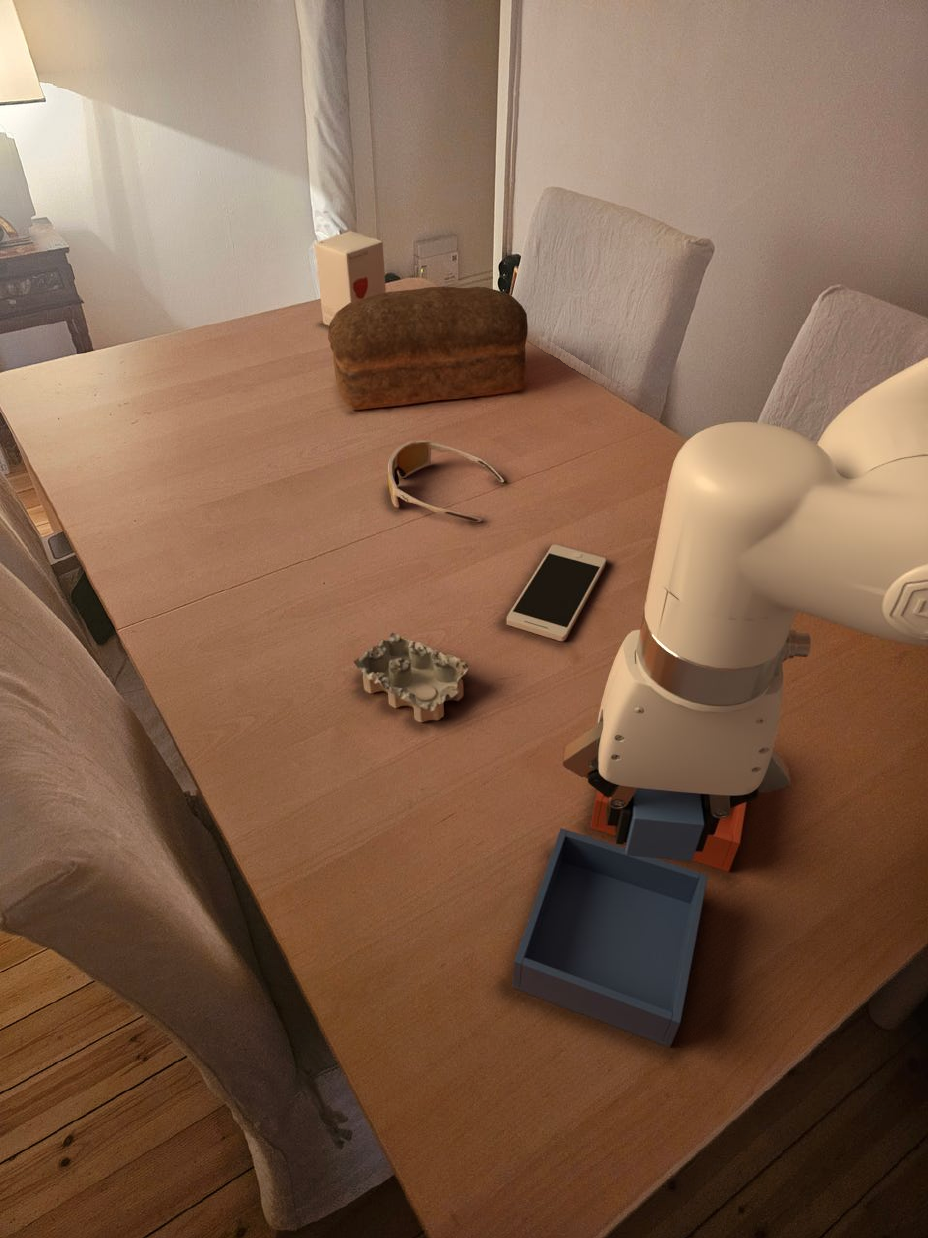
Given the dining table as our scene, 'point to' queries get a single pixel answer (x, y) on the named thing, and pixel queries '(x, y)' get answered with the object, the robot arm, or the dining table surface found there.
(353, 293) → the white product box
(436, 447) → the sunglasses
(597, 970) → the blue bin
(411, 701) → the egg carton
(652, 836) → the blue block
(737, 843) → the terracotta bin
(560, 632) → the smartphone
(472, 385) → the bread
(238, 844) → the dining table surface
